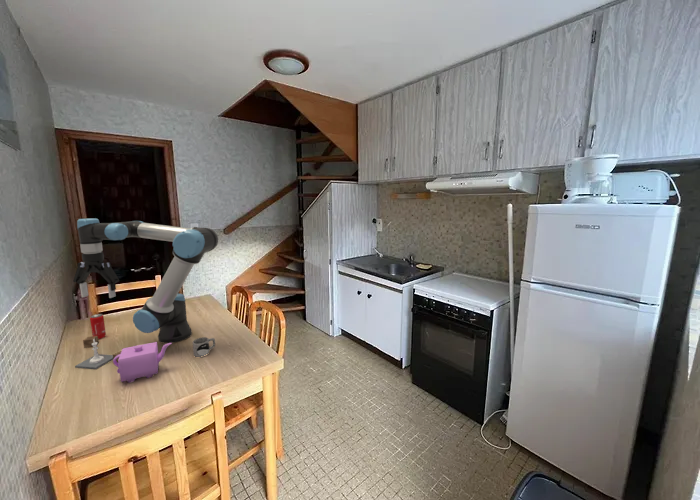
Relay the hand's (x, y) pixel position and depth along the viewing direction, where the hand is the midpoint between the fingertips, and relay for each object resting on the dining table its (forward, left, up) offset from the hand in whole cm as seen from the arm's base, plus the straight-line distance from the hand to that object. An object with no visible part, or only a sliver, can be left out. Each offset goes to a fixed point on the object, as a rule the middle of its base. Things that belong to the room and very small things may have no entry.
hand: (98, 296), depth 137 cm
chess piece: (-8, +12, -25) cm, 29 cm away
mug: (-50, -2, -26) cm, 57 cm away
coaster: (-8, +12, -26) cm, 30 cm away
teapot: (-36, +17, -26) cm, 48 cm away
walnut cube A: (+9, -1, -26) cm, 27 cm away
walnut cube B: (-18, +10, -26) cm, 33 cm away
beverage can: (+13, -9, -26) cm, 30 cm away
